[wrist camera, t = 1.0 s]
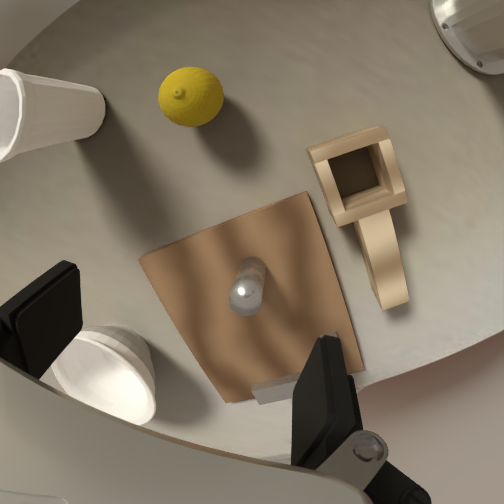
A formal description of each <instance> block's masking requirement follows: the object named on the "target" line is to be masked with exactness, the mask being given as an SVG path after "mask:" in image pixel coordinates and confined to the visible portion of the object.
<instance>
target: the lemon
mask: <svg viewBox="0 0 504 504" xmlns="http://www.w3.org/2000/svg"><path fill="white" fill-rule="evenodd" d="M158 98H159V105H160V108H161V110H162V111H163V113H164V114H165V116H166V117H167V118H169V119H170V120H171V121H172V122H174V123H176V124H178V125H181V126H187V127H193V126H200V125H203V124H206V123H207V122H209V121H211V120H212V119H213V118H214V117H215V116H216V115H217V114H218V112H219V111H220V109H221V107H222V104H223V99H224V93H223V88H222V86H221V84H220V82H219V80H218V79H217V78H216V77H215V76H214V75H213V74H212V73H210V72H209V71H207V70H205V69H202V68H198V67H186V68H181V69H178V70H176V71H174V72H172V73H171V74H170V75H169V76H168V77H166V79H165V80H164V81H163V83H162V85H161V87H160V90H159V95H158Z"/></svg>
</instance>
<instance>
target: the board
mask: <svg viewBox="0 0 504 504" xmlns="http://www.w3.org/2000/svg"><path fill="white" fill-rule="evenodd" d="M250 256H255V257H258V258H260V259H261V260H263V261H264V263H265V265H266V275H265V282H264V288H263V295H262V302H261V307H260V309H259V310H258V312H257V313H255V314H253V315H250V316H242V315H239V314H237V313H235V312H234V311H233V310H232V309H231V307H230V305H229V297H230V294H231V291H232V288H233V285H234V282H235V279H236V276H237V273H238V270H239V267H240V264H241V262H242V261H243V260H244V259H245V258H247V257H250ZM138 261H139V263H140V265H141V266H142V268H143V270H144V272H145V274H146V276H147V278H148V279H149V281H150V283H151V285H152V287H153V288H154V290H155V292H156V294H157V295H158V297H159V299H160V301H161V302H162V304H163V306H164V308H165V309H166V311H167V313H168V314H169V316H170V318H171V320H172V321H173V323H174V325H175V326H176V328H177V330H178V331H179V333H180V334H181V336H182V338H183V339H184V341H185V343H186V344H187V346H188V347H189V349H190V350H191V352H192V354H193V355H194V357H195V358H196V360H197V361H198V363H199V364H200V366H201V368H202V369H203V371H204V372H205V374H206V375H207V377H208V378H209V380H210V381H211V383H212V384H213V385H214V387H215V388H216V390H217V391H218V393H219V394H220V396H221V397H222V399H223V400H224V401H225V403H229V402H235V401H241V400H246V399H252V398H255V397H254V395H253V393H252V392H251V389H252V384H253V383H258V382H263V381H267V380H271V379H276V378H280V377H284V376H288V375H292V374H296V373H300V372H302V370H303V368H304V366H305V364H306V362H307V360H308V357H309V355H310V353H311V351H312V349H313V346H314V344H315V342H316V340H317V338H318V337H319V338H320V336H321V335H324V334H327V333H331V332H334V331H336V334H337V337H338V338H340V341H341V346H342V351H343V356H344V361H345V366H346V371H347V375H348V374H352V373H355V372H358V371H361V370H364V367H363V364H362V360H361V356H360V353H359V349H358V345H357V342H356V338H355V335H354V332H353V328H352V325H351V321H350V318H349V315H348V311H347V308H346V305H345V302H344V298H343V295H342V292H341V289H340V286H339V283H338V279H337V276H336V273H335V270H334V267H333V264H332V261H331V258H330V255H329V252H328V249H327V247H326V244H325V241H324V238H323V235H322V232H321V229H320V227H319V224H318V221H317V218H316V215H315V213H314V210H313V207H312V205H311V202H310V199H309V197H308V194H307V191H305V192H303V193H300V194H297V195H294V196H292V197H289V198H286V199H284V200H281V201H278V202H275V203H273V204H270V205H268V206H265V207H262V208H260V209H257V210H254V211H252V212H249V213H246V214H244V215H241V216H239V217H236V218H234V219H231V220H228V221H226V222H223V223H221V224H218V225H216V226H213V227H211V228H208V229H206V230H203V231H201V232H198V233H196V234H193V235H191V236H188V237H186V238H183V239H181V240H178V241H176V242H173V243H171V244H169V245H166V246H164V247H161V248H159V249H157V250H154V251H152V252H149V253H147V254H145V255H142V256H141V257H140V258H139V259H138Z"/></svg>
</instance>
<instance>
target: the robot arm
mask: <svg viewBox="0 0 504 504" xmlns="http://www.w3.org/2000/svg"><path fill="white" fill-rule="evenodd" d="M430 10H431V15H432V19H433V22H434V25H435V27H436V29H437V31H438V33H439V35H440V36H441V38H442V40H443V41H444V43H445V44H446V45H447V47H448V48H449V49H450V51H451V52H452V53H453V54H454V55H455V56H456V57H457V58H458V59H459V60H460V61H462V62H463V63H464V64H465V65H467V66H468V67H470V68H471V69H473V70H475V71H477V72H479V73H482V74H486V75H498V74H503V73H504V0H430ZM82 325H83V320H82V307H81V290H80V271H79V269H77V266H76V264H74V263H71V262H68V261H65V260H63V261H61V262H59V263H58V264H56V265H55V266H54V267H52V268H51V269H49V270H48V271H47V272H45V273H44V274H42V275H41V276H40V277H38V278H37V279H36V280H34V281H33V282H32V283H30V284H29V285H28V286H26V287H25V288H24V289H22V290H21V291H20V292H18V293H17V294H16V295H14V296H13V297H12V298H11V299H9V300H8V301H7V302H6V303H4V304H3V305H2V306H1V307H0V504H431V499H430V496H429V494H428V493H427V492H426V491H425V490H424V489H423V488H422V487H421V486H419V485H418V484H416V483H415V482H414V481H413V480H411V479H410V478H409V477H407V476H406V475H405V474H403V473H402V472H401V471H399V470H398V469H397V468H396V467H394V466H393V465H392V464H390V463H389V462H388V461H387V460H386V459H387V457H388V447H387V444H386V443H385V441H384V440H383V439H382V438H381V437H380V436H379V435H377V434H376V433H374V432H371V431H367V430H363V425H362V420H361V415H360V409H359V404H358V399H357V394H356V389H355V384H354V379H353V377H352V376H351V375H347V371H346V366H345V361H344V356H343V351H342V346H341V341H340V338H338V337H334V336H329V335H324V336H323V337H322V338H319V337H318V338H317V340H316V342H315V344H314V346H313V349H312V351H311V353H310V355H309V357H308V360H307V362H306V364H305V366H304V368H303V370H302V372H301V374H300V377H299V379H298V381H297V383H296V385H295V387H294V390H293V400H292V448H291V465H288V464H283V463H278V462H272V461H267V460H261V459H256V458H251V457H247V456H242V455H238V454H233V453H229V452H225V451H221V450H217V449H213V448H209V447H205V446H201V445H197V444H194V443H190V442H187V441H184V440H180V439H177V438H174V437H171V436H167V435H164V434H161V433H158V432H155V431H152V430H150V429H147V428H144V427H141V426H138V425H136V424H133V423H130V422H128V421H125V420H123V419H120V418H118V417H115V416H113V415H110V414H108V413H106V412H103V411H101V410H99V409H96V408H94V407H92V406H90V405H87V404H85V403H83V402H81V401H79V400H77V399H75V398H73V397H71V396H69V395H66V394H64V393H62V392H61V391H59V390H57V389H55V388H53V387H51V386H49V385H47V384H45V383H43V382H42V381H40V380H39V379H40V378H41V377H42V375H43V374H44V373H45V372H46V370H47V369H48V368H49V367H50V366H51V364H52V363H53V362H54V361H55V360H56V359H57V357H58V356H59V355H60V354H61V353H62V352H63V350H64V349H65V348H66V347H67V346H68V345H69V344H70V342H71V341H72V340H73V339H74V338H75V337H76V336H77V334H78V333H79V332H80V331H81V329H82Z"/></svg>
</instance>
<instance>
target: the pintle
mask: <svg viewBox="0 0 504 504" xmlns="http://www.w3.org/2000/svg"><path fill="white" fill-rule="evenodd" d="M265 275H266V265H265V263H264V261H263V260H261V259H260V258H258V257H255V256H250V257H247V258H245V259H244V260H243V261H242V262H241V264H240V267H239V270H238V273H237V276H236V279H235V282H234V285H233V288H232V291H231V294H230V297H229V305H230V307H231V309H232V310H233V311H234V312H235V313H237V314H239V315H242V316H250V315H253V314H255V313H257V312H258V310H259V309H260V307H261V302H262V295H263V288H264V282H265Z"/></svg>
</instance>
